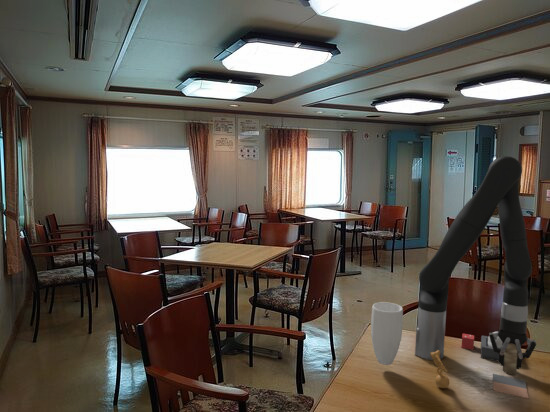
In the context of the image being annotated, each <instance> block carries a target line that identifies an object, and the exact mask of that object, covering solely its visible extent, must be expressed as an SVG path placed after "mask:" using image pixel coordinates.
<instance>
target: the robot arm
mask: <svg viewBox="0 0 550 412" xmlns="http://www.w3.org/2000/svg"><path fill="white" fill-rule="evenodd" d="M522 173H523V168H522V164H521V162H520V161H519V160H518V159H517V158H515V157H512V156H506V155H505V156H504V155H503V156H499V157H497V158H495V159H493V161H492V162H491V163H490V164H489V166H488V170H487V172H486V174H485V176H484V179H483V180H482V182H481V184H480V185H479V187H478V189H477V191H476V192H475V193H474V195H473V196H472V197H471V198H470V199H469V200H468V201H467V202H466V203H465V204H464V206H463V207H462V208H461V209H460V211H459V212H458V214H457V215H456V216H455V218H454V220H453V221H452V223H451V224H450V226H449V228H448V229H447V231H446V233H445V235H444V238H443V240H441V241H442V242H441V243H440V246H439V247H438V249H437V250H436V253H435V254H434V255H433V256H432V258H431V259H430V261H428V263H426V264H425V265H424V266H423V268H422V269H421V270H420V271H419V274H418V280H419V284H420V293H419V297H418V308H417V309H418V311H417V327H416V329H415V331H416V332H415V347H414V355H415V356H418V357H420V358H422V359H424V360H430V361H434V360H433V359H432V358H431V355H430V353H431V352H436V351H437V350H440V355H439V356H440V360H442V359H444V355H445V354H444V352H445V350H444V349H445V336H446V335H445V334H446V320H447V307H448V298H449V286H450V285H449V284H450V278H451V276H452V274H453V271H454V270H455V268H456V266H457V264H458V263H459V262H460V261H461V260H462V259H463V258H464V256H465V255H466V254H467V253H468V252H469V250H470V249H471V248H472V247H473V245H474V244H475V243H476V242H477V241H478V239H479V237H480V236H481V234H482V233H483V232H484V230H485V228H486V227H487V225H488V223H489V222H490V220H492V217H493V215H494V213H495V211H496V209H497V208H498V221H499V229H500V230H499V231H500V236H501V242H502V247H503V249H504V256H505V262H504V266H503V267H504V268H503V271H504V273H503V275H504V276H503V277H504V278H503V279H504V288H503V293H502V304H501V311H500V320H499V321H500V323H499V330H498V331H497V332H498V333H493V332H492V331H490V332H489V333H488V334H489V335H488V337H490V340H491V343H492V347H493V350H494V352H497V353H499V361H498V363H499V364H500V366H502V367H503V364H504V352H505V350H506V348H507V346H508V344H509V343H512V344H515V345H516V347H517V352H518V358H517V370H520V369H522V367H523V360H524V359H530V357H531V355H532V353H533V352H534V350H535V348H536V346H537V342H536V340H535V339H532V338H531V339H530V338H529V337H528V336H527V326H528V316H529V310H528V309H529V308H528V304H529V289H528V278H531V277H530V276H531V275H532V273H533V265H532V260H531V256H530V251H529V248H528V240H527V239H528V238H527V237H528V236H527V230H526V224H525V223H526V222H525V220H524V215H523V210H522V207H521V201H520V196H519V195H520V194H519V179H520V178H521V176H522ZM498 336H499V338H500V339H501V341H502V344H501V347H500V348H498V347H497V345H496V341H495V340H497V337H498ZM526 342H527V343H526ZM525 343H526V344H527V348H526V350H525V351H524V352H522V348H521V347H522V346H523V345H524V344H525Z"/></svg>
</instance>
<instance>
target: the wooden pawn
mask: <svg viewBox="0 0 550 412" xmlns="http://www.w3.org/2000/svg"><path fill="white" fill-rule="evenodd" d="M517 358H518V352H517V347H516V345H515V344H512V343H509V344H508V346H507V348H506V350H505V352H504V364H503V366H502V372H504V373H505V374H508V375H517V371H518V369H517Z"/></svg>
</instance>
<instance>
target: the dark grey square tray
mask: <svg viewBox="0 0 550 412" xmlns="http://www.w3.org/2000/svg"><path fill="white" fill-rule="evenodd" d="M488 337H489V335H488V336H487V335H481V337H480V358H482V359H485V360H486V359H487V360H492V361H497V362H499V353H497V352H494V350H493V347H489V346H488Z"/></svg>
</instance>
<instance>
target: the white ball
mask: <svg viewBox="0 0 550 412" xmlns="http://www.w3.org/2000/svg"><path fill="white" fill-rule="evenodd" d="M492 333H498V331H494V332H492ZM495 341H496V345H497V347H498V348H500V347H501V344H502V341H501V339H500V338H499V336H498V337H497V340H495ZM488 346H489V347H492V343H491V340H490V337H489V336H488Z"/></svg>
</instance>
